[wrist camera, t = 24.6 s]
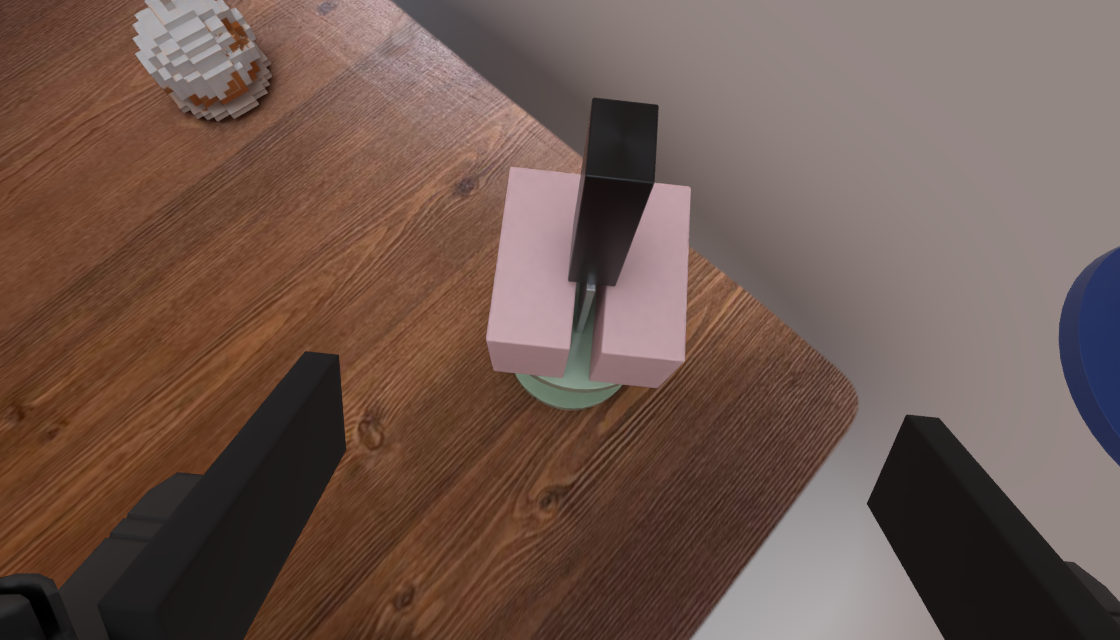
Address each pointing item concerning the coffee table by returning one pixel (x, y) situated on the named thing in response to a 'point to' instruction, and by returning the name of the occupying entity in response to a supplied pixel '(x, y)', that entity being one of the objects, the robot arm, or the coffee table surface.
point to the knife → (611, 193)
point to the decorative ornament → (202, 56)
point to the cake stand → (572, 373)
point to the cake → (620, 311)
